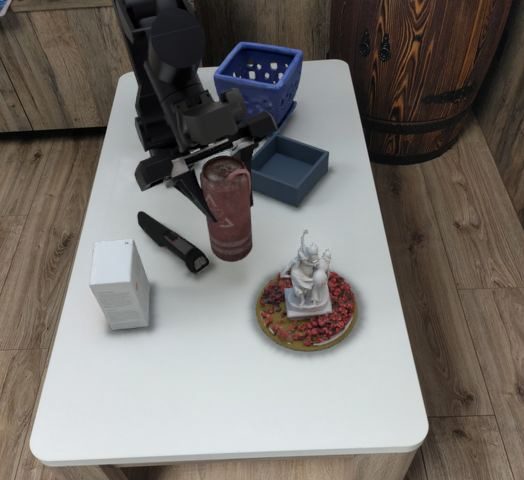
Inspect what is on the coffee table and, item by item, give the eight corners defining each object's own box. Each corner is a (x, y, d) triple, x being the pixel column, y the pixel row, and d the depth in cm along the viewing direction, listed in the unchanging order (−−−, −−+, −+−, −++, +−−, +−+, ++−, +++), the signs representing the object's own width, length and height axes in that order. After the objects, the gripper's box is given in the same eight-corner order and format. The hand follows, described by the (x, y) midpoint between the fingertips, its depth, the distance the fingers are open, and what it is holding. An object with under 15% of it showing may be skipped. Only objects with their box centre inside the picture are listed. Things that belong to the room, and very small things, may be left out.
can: (255, 262, 72) (251, 183, 60) (211, 264, 72) (198, 186, 60) (254, 231, 75) (249, 151, 63) (211, 234, 75) (199, 154, 63)
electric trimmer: (152, 218, 86) (148, 204, 84) (211, 263, 80) (209, 249, 77) (135, 230, 85) (130, 216, 82) (194, 277, 78) (190, 263, 76)
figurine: (253, 274, 78) (247, 203, 66) (348, 266, 78) (359, 194, 66) (259, 355, 70) (254, 290, 58) (366, 346, 70) (382, 280, 58)
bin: (242, 186, 89) (241, 167, 86) (275, 151, 94) (275, 132, 91) (296, 207, 86) (297, 188, 83) (327, 170, 91) (329, 151, 87)
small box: (115, 289, 78) (93, 240, 69) (151, 285, 78) (133, 236, 69) (111, 331, 73) (87, 285, 65) (149, 327, 73) (130, 281, 65)
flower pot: (217, 135, 98) (209, 74, 88) (244, 98, 104) (239, 37, 94) (280, 149, 95) (279, 87, 85) (304, 110, 101) (306, 49, 91)
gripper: (117, 99, 52) (183, 239, 56) (268, 44, 57) (318, 177, 61) (110, 128, 62) (166, 245, 67) (238, 79, 67) (283, 191, 71)
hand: (233, 214), depth 66 cm, fingers closed on can, 5 cm apart
